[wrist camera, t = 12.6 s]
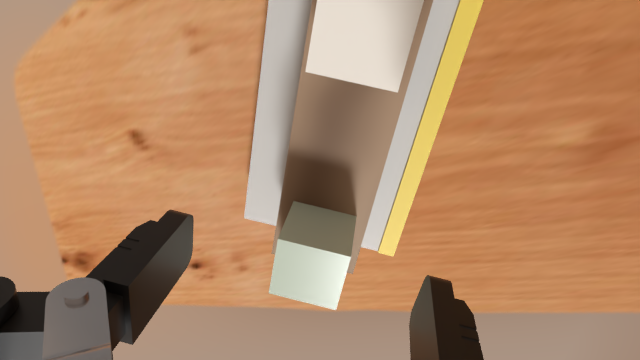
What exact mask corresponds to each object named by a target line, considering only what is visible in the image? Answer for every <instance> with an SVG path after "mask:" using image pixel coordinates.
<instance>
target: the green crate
mask: <svg viewBox="0 0 640 360" xmlns="http://www.w3.org/2000/svg"><path fill="white" fill-rule="evenodd" d="M356 217H357V216H354V215H350V214H345V213H341V212H337V211H333V210H329V209H325V208H321V207H316V206H312V205H308V204H304V203H300V202H296V201H293V204H292V206H291V208H290V211H289V213H288V216H287V218H286V220H285V223H284V225H283V228H282V230H281V232H280V235H279V237H278V241H277V247H276V253H275V259H274V265H273V271H272V277H271V283H270V289H269V293H270V294H274V295H278V296H282V297H286V298H290V299H294V300H298V301H302V302H306V303H310V304H313V305H317V306H321V307H325V308H329V309H333V310H336V308H337V305H338V301H339V298H340V294H341V291H342V287H343V284H344V280H345V277H346V273H347V270H348V266H349V263H350V259H351V254H352V247H353V239H354V232H355V225H356Z"/></svg>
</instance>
